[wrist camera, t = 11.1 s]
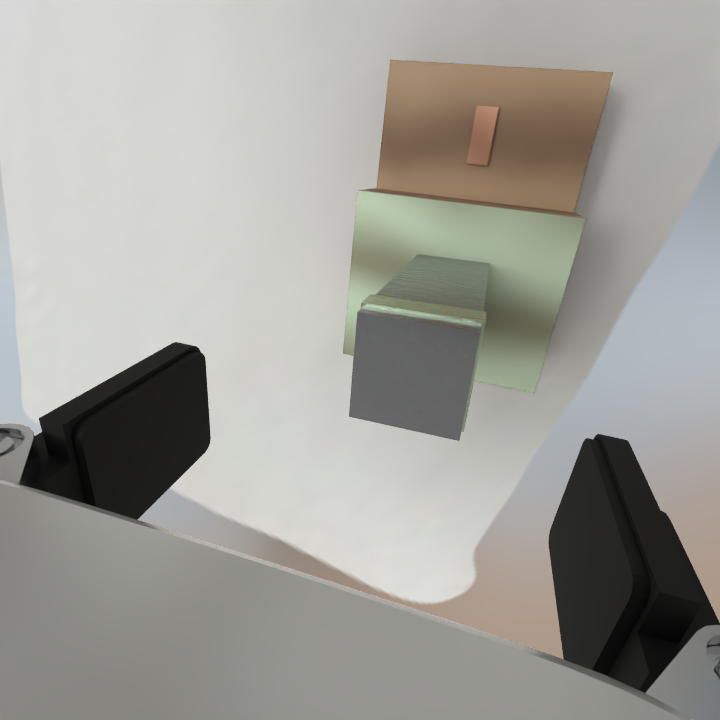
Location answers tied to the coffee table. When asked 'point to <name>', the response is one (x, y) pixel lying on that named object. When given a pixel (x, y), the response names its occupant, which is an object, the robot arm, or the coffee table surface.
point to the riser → (482, 195)
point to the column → (420, 346)
